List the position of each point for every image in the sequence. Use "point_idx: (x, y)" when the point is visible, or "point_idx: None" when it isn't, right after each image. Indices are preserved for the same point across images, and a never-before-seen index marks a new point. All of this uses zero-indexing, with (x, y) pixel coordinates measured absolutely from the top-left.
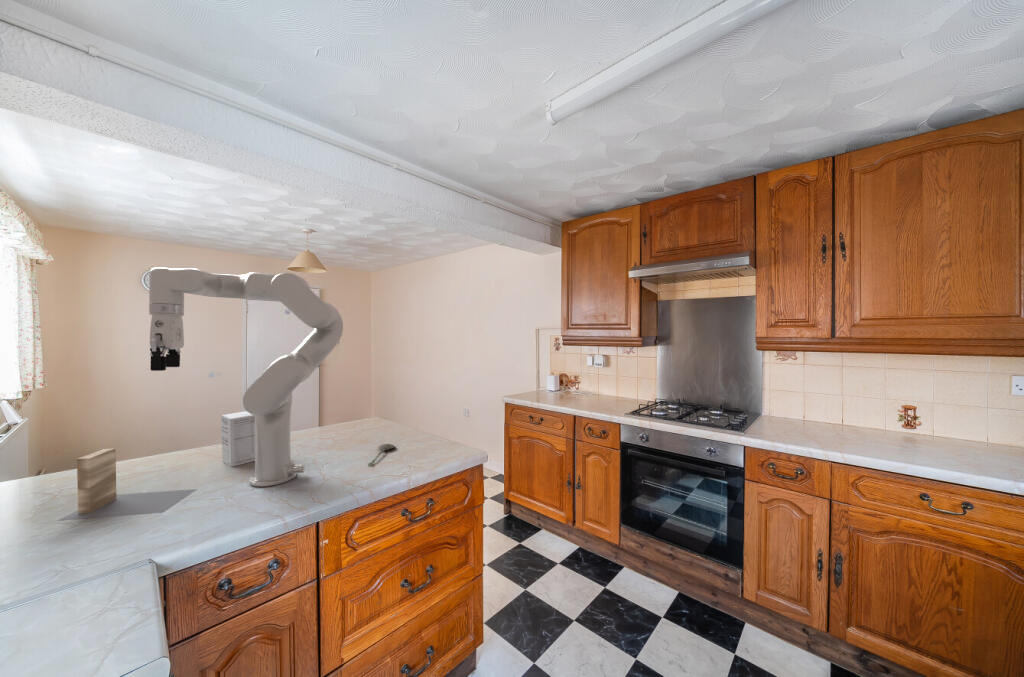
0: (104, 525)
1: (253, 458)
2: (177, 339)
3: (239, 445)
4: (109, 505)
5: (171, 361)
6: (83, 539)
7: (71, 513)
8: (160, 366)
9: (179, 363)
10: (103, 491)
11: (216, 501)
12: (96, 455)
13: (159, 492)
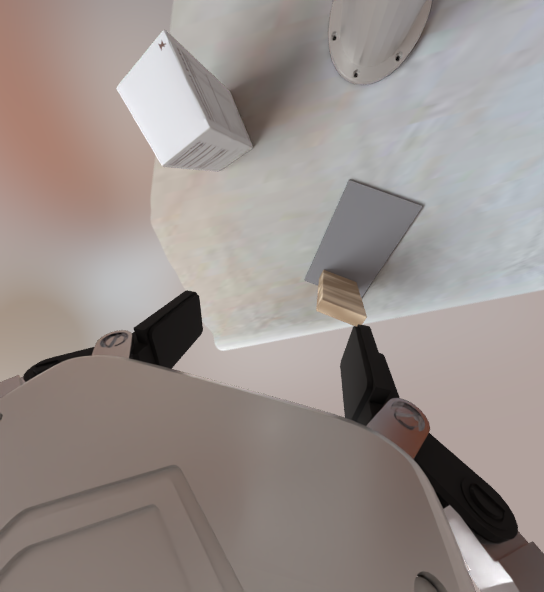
0: (406, 261)
1: (234, 104)
2: (195, 549)
3: (233, 124)
4: (344, 270)
5: (186, 332)
6: (436, 269)
7: None
8: (381, 354)
9: (182, 297)
10: (340, 282)
11: (428, 133)
12: (355, 312)
13: (330, 229)
